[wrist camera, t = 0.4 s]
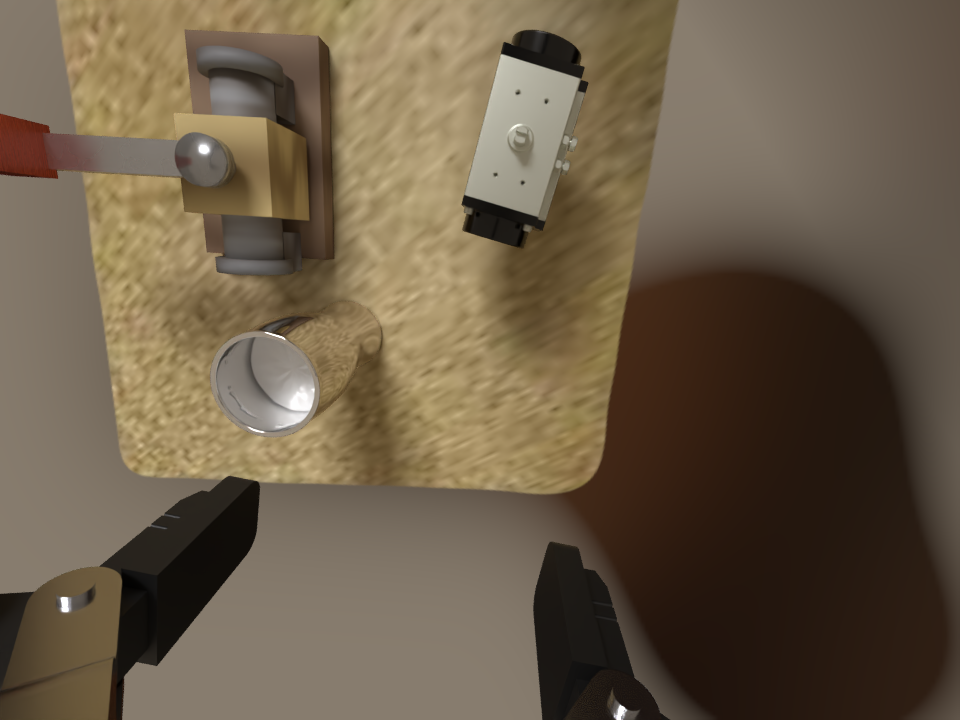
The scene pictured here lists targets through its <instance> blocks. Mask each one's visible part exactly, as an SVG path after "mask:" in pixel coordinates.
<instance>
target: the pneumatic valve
mask: <svg viewBox="0 0 960 720" xmlns="http://www.w3.org/2000/svg"><path fill="white" fill-rule="evenodd" d="M580 62H581V54H580V52H579V50H578V49H577V48H576V47H575V46H574V45H573V44H572V43H570V42H569V41H567V40H565V39H564V38H562V37H559V36H557V35H555V34H552V33H548V32H544V31H539V30H524V31H520V32H518V33H516V34H515V35H514V36H513V39H512V43H511V44H509V43H506V42H504V43H503V47H502V51H501V55H500V59H499V62H498V66H497V70H496V74H495V78H494V82H493V85H492V89H491V93H490V97H489V101H488V105H487V109H486V112H485V116H484V120H483V124H482V128H481V132H480V136H479V139H478V143H477V147H476V151H475V155H474V159H473V162H472V166H471V170H470V174H469V178H468V182H467V186H466V189H465V193H464V197H463V201H462V206H463V207H464V208H465V209H464V213H466V217H465V221H464V225H463V228H462V230H463V231H464V232H468V233H471V234H474V235H477V236H481V237H484V238H487V239H491V240H494V241H497V242H501V243H504V244H508V245H511V246H515V247H518V248H522V249H523V248H524V246H525V243H526V239H527V236H528V233H529V232H531V230H536V231H543V227H544V224H545V221H546V218H547V215H548V211H549V208H550V205H551V202H552V199H553V195H554V192H555V189H556V186H557V183H558V179H559V176H560V173H561V174H562V175H566V174H567V172H568V169H569V166H570V161H569V160H565V157H566V154H567V150H568V147H569V150H568V151H571V152H573V151H574V150H575V147H576V144H577V141H578V138H577V137H576V136H573V137H572V134H573V131H574V128H575V125H576V122H577V118H578V115H579V112H580V109H581V106H582V102H583V99H584V96H585V93H586V89H587V86H588V82H586V81H582V80H581V78H582V75H583V71H584V68H585V67H583V66H580ZM571 138H572V139H571ZM564 160H565V162H564ZM563 163H564V164H563ZM561 170H562V171H561Z"/></svg>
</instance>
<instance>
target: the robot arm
mask: <svg viewBox="0 0 960 720" xmlns="http://www.w3.org/2000/svg"><path fill="white" fill-rule="evenodd" d="M259 495H260V485H259V483H258V482H257V481H253V480H248V479H243V478H238V477H233V476H228V477H226V478H225V479H223V480H222V481H221V482H220V483H219V484H218V485H217V486H215V487H214V488H213V489H212V490H211V491H210V492H207V491H200V492H198V493H195V494H193V495H191V496H189V497H186V498H185V499H182V500H180V501H179V502H178V503H177V504H175V505H174V506H173V507H172V508H171V509H169V510H168V511H167V512H165V514H164V516H161V517H159V518H158V519H157V520H156V521H154V522H153V523H152V525H151V527H147V528H146V529H145V530H143V531H142V532H141V533H140V534H139V535H137V536H136V537H135V538H134V539H132V540H131V541H130V542H129V543H127V544H126V545H125V546H124V547H123V548H121V549H120V550H119V551H118V552H116V553H115V554H114V555H113V556H112V557H110V558H109V559H108V560H107V561H105V562H104V563H103V564H102V565H100V566H99V567H86V568H80V569H76V570H72V571H70V572H66V573H64V574H61V575H59V576H57V577H55V578H53V579H51V580H49V581H48V582H46V583H45V584H43V585H42V586H41V587H39V588H38V589H37V590H36V591H35V592H25V593H8V594H0V720H122V716H123V698H124V676H125V674H126V673H127V672H128V671H129V670H130V669H131V668H132V667H133V665H134V664H135V663H136V662H139V663H144V664H150V665H155V666H157V665H158V664H159V663H160V661H161V660H162V659H163V658H164V656H165V655H166V654H167V653H168V651H169V650H170V649H171V648H172V647H173V645H174V644H175V643H176V642H177V641H178V639H179V638H180V637H181V636H182V634H183V633H184V632H185V631H186V629H187V628H188V627H189V626H190V624H191V623H192V622H193V621H194V619H195V618H196V617H197V616H198V614H199V613H200V612H201V611H202V609H203V608H204V607H205V605H207V603H208V602H209V601H210V600H211V598H212V597H213V596H214V595H215V593H216V592H217V591H218V590H219V588H220V587H221V586H222V585H223V583H224V582H225V581H226V580H227V578H228V577H229V576H230V575H231V574H232V572H233V571H234V570H235V569H236V567H237V566H238V565H239V564H240V562H241V561H242V560H243V559H244V557H245V556H246V555H247V553H248V552H249V550H250V549H251V547H252V544H253V542H254V539H255V536H256V532H257V522H258V508H259ZM533 611H534V625H535V637H536V647H537V661H538V673H539V684H540V696H541V708H542V720H670V719H668V718H667V717H665V716H664V715H663V714H661V713H660V710H659V707H658V705H657V703H656V701H655V699H654V697H653V696H652V694H651V693H650V692H649V690H648V689H647V688H646V687H645V686H644V685H643V684H642V683H641V682H639V681H638V680H637V679H635V677H634V674H633V671H632V667H631V664H630V660H629V657H628V654H627V651H626V647H625V644H624V641H623V637H622V634H621V631H620V627H619V624H618V622H617V617H616V614H615V611H614V608H612V601H611V598H610V594H609V591H608V588H607V586H606V585H605V583H604V582H603V581H602V580H601V578H600V577H599V575H598V574H597V573H596V571H594V570H588V569H584V568H583V564H582V560H581V556H580V552H579V549H578V548H577V547H575V546H570V545H565V544H560V543H555V542H550V543H549V544H548V547H547V550H546V553H545V557H544V561H543V564H542V568H541V571H540V575H539V578H538V582H537V585H536V590H535V595H534V606H533Z"/></svg>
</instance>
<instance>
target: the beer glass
mask: <svg viewBox="0 0 960 720" xmlns="http://www.w3.org/2000/svg"><path fill="white" fill-rule="evenodd" d="M381 340H382V333H381V327H380V324H379V322H378V320H377V318H376V317H375V315H374V314H373V313H372V312H371V311H370V310H369V309H368V308H366V307H365V306H363V305H361V304H359V303H356V302H353V301H338V302H335V303H332V304H330V305H329V306H327V307H326V308H324V309H323V310H322V311H321V312H302V313H292V314H287V315H283V316H280V317H276V318H273V319H271V320H268V321H266V322H263V323H261V324H259V325H257V326H255V327H253V328H251V329H249V330H247V331H246V332H244V333H242V334H239V335H236V336H234V337H233V338H231V339H229V340H228V341H227V342H225V343H224V344H223V345H222V346H221V348H220V349H219V350H218V352H217V353H216V355H215V357H214V359H213V362H212V365H211V371H210V383H211V389H212V392H213V395H214V398H215V400H216V402H217V404H218V406H219V408H220V409H221V410H222V412H223V413H224V414H225V415H226V416H227V418H228V419H229V420H231V421H232V422H233V423H234V424H235V425H237V426H238V427H240V428H241V429H243V430H245V431H247V432H249V433H252V434H255V435H258V436H263V437H282V436H287V435H290V434H293V433H295V432H297V431H299V430H300V429H302V428H303V427H304V426H306V425H307V424H308V423H309V422H310V421H312V420H313V419H315V418H316V417H317V416H319V415H320V414H321V413H323V412H324V411H325V410H326V409H328V408H329V407H330V406H331V405H332V404H333V403H334V402H335V401H336V400H337V399H338V398H339V397H340V396H341V395H342V394H343V392H344V391H345V390H346V388H347V387H348V385H349V383H350V382H351V380H352V378H353V376H354V374H355V372H356V369H357V367H359V366H361V365H364V364H366V363H367V362H369V361H370V360H371V359H373V358H374V356H375V355H376V354H377V352H378V350H379V348H380V345H381Z"/></svg>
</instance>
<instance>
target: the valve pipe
mask: <svg viewBox="0 0 960 720" xmlns="http://www.w3.org/2000/svg"><path fill="white" fill-rule="evenodd" d="M185 39H186V49H187V59H188V69H189V79H190V88H191V98H192V108H193V114H184V113H174V121H175V130H176V139H177V140H180V139H181V137H183V136H184V135H186V134H188V133H192V132H199V133H203V134H206V135H209V136H211V137H214V138H217V139H219V140H221V141H222V142H224V143H225V144H226V145H227V146H228V147H229V149H230V150H231V152H232V154H233V157H234V160H235V173H234V176H233V178H232V180H231V181H230V182H229V183H228V184H227V185H226V186H224V187H221V188H207V187H202V186H197V185H194V184H192V183H190V182H188V181H187V180H186V179H185V178H181V184H182V193H183V202H184V211H185V212H192V213H203V218H204V228H205V238H206V248H207V252H212V253H225V256H218V257H215V258H216V268H217V272H219V273H226V274H238V275H285V274H292V273H293V272H295V271H301V270H302V258H309V259H325V260H326V259H334V232H333V195H332V159H331V122H330V86H329V50H328V46H327V45H326V44H325V43H324V42H323V41H322V40H321V38H320V37H319V36H309V35H288V34H266V33H245V32H224V31H202V30H185Z"/></svg>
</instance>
